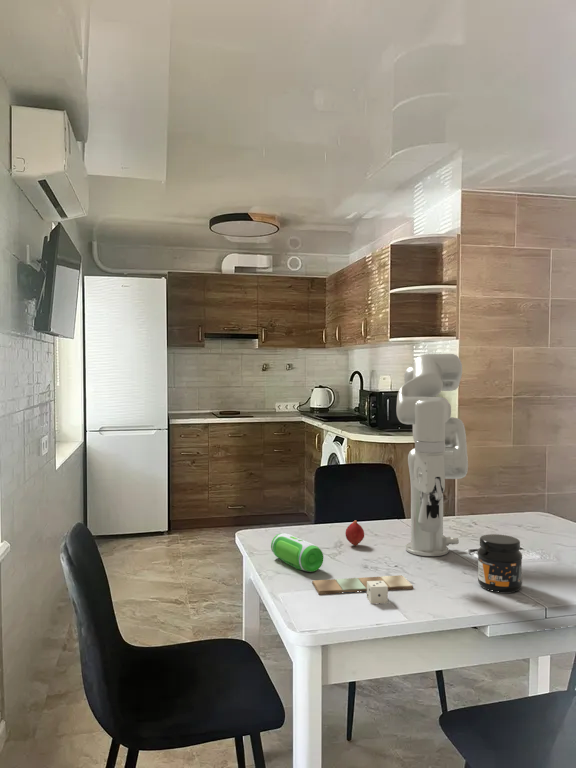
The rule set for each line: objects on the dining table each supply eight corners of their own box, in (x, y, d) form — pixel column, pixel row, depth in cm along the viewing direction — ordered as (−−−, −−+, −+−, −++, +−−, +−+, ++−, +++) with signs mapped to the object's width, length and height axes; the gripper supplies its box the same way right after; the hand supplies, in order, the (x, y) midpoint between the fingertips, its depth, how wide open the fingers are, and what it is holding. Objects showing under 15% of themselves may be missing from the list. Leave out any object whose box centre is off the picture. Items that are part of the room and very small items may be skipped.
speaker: (325, 571, 160) (325, 543, 160) (303, 576, 156) (303, 548, 156) (290, 555, 175) (290, 529, 175) (269, 559, 171) (269, 533, 171)
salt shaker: (428, 534, 148) (428, 483, 148) (413, 528, 153) (413, 479, 153) (446, 531, 151) (446, 481, 150) (430, 525, 156) (431, 477, 155)
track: (402, 578, 154) (402, 575, 154) (413, 588, 147) (413, 585, 147) (312, 583, 151) (312, 580, 151) (318, 594, 143) (318, 591, 143)
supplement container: (470, 587, 147) (470, 539, 147) (487, 576, 156) (487, 531, 155) (513, 597, 141) (513, 547, 141) (528, 585, 149) (528, 538, 149)
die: (383, 597, 141) (383, 579, 141) (387, 603, 137) (387, 586, 137) (366, 597, 141) (366, 580, 141) (370, 604, 137) (370, 586, 137)
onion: (343, 547, 183) (343, 521, 183) (348, 542, 188) (348, 517, 188) (361, 549, 181) (361, 523, 181) (366, 544, 186) (366, 518, 186)
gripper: (404, 443, 159) (404, 511, 159) (428, 452, 143) (428, 528, 143) (430, 442, 160) (430, 509, 161) (457, 451, 144) (457, 526, 144)
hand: (429, 517), depth 152 cm, fingers closed on salt shaker, 3 cm apart
